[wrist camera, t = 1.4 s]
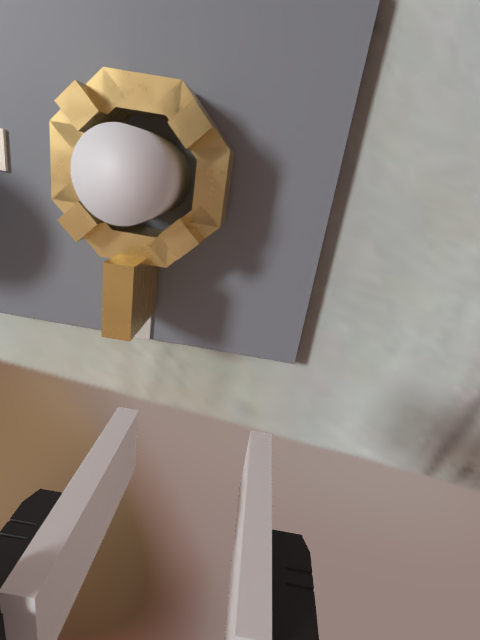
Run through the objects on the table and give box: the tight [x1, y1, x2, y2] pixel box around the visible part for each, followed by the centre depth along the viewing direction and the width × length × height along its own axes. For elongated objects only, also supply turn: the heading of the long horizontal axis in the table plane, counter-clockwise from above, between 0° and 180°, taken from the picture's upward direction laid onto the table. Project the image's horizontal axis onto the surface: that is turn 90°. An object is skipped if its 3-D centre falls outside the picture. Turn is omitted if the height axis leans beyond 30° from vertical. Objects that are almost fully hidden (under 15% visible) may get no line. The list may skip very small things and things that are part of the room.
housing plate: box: [0, 0, 380, 364], centre depth 23 cm, size 24×24×8 cm
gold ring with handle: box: [49, 67, 235, 341], centre depth 23 cm, size 15×10×6 cm
